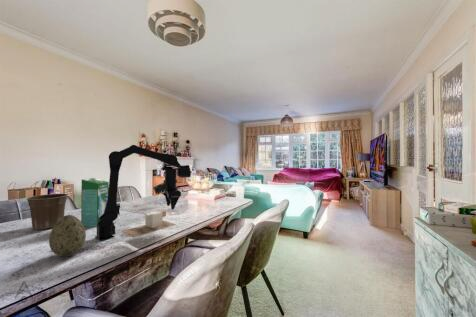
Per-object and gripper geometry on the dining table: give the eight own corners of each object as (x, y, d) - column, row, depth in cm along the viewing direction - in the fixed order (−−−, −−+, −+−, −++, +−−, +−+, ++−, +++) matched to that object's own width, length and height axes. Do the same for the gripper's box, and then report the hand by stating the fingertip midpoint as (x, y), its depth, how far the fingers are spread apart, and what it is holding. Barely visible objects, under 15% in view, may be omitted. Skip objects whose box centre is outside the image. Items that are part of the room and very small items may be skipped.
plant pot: (16, 232, 103) (16, 199, 103) (43, 222, 119) (44, 193, 119) (52, 231, 105) (52, 198, 105) (74, 221, 121) (74, 193, 121)
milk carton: (97, 226, 113) (98, 179, 113) (80, 226, 113) (81, 179, 113) (108, 221, 122) (108, 177, 122) (92, 221, 122) (93, 177, 122)
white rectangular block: (150, 228, 107) (150, 215, 107) (143, 226, 111) (143, 214, 110) (168, 223, 117) (168, 211, 117) (161, 221, 120) (161, 209, 120)
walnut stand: (133, 239, 96) (133, 228, 96) (121, 233, 103) (121, 222, 103) (176, 226, 115) (176, 217, 115) (162, 222, 122) (163, 213, 122)
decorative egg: (50, 253, 81) (50, 214, 81) (84, 246, 88) (85, 210, 88) (47, 265, 73) (48, 221, 72) (86, 256, 79) (86, 216, 79)
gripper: (151, 177, 117) (151, 205, 117) (157, 180, 101) (157, 213, 101) (172, 176, 122) (171, 203, 122) (181, 179, 106) (181, 210, 106)
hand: (170, 207), depth 113 cm, fingers open, 9 cm apart
